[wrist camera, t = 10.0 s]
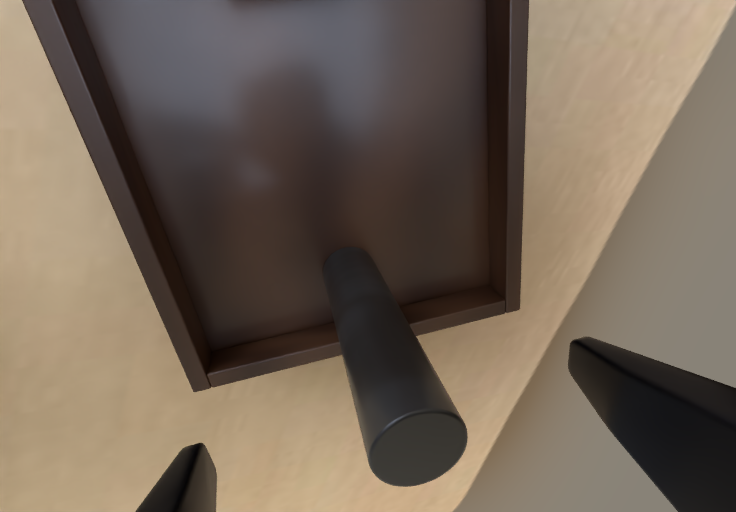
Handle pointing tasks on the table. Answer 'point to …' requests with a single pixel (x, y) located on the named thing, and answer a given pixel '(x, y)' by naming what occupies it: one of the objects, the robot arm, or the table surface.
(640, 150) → the table surface
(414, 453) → the tray
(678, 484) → the robot arm
